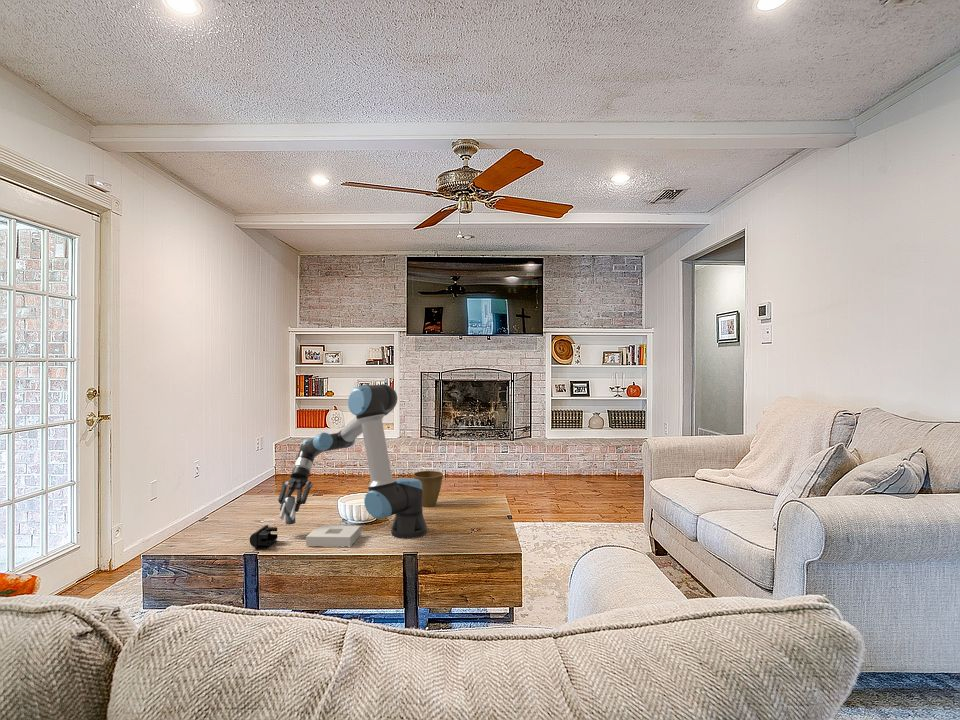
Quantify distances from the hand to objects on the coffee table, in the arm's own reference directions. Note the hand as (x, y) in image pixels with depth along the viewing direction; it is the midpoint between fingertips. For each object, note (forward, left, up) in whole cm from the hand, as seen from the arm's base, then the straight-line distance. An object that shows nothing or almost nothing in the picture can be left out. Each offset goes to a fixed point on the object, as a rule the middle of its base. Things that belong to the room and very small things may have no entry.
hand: (286, 518), depth 223 cm
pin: (0, -4, -3) cm, 5 cm away
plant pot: (-51, -51, -9) cm, 73 cm away
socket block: (-21, +2, -8) cm, 23 cm away
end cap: (+6, +8, -9) cm, 13 cm away
